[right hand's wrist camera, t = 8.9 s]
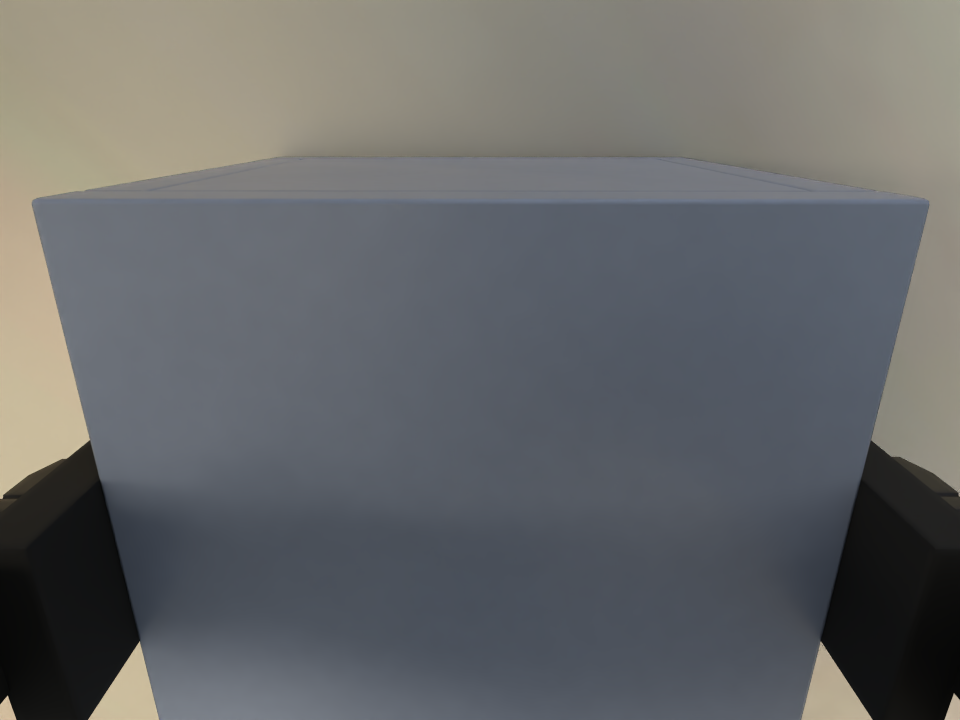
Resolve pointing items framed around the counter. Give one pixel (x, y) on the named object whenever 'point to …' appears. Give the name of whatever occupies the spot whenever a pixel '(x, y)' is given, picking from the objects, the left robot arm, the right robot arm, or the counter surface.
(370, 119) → the counter surface
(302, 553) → the cabinet
